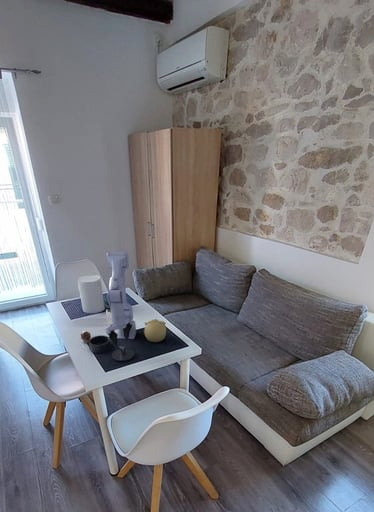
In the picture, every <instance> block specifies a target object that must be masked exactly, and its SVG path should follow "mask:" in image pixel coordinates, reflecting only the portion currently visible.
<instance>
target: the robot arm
mask: <svg viewBox="0 0 374 512" xmlns="http://www.w3.org/2000/svg"><path fill="white" fill-rule="evenodd" d="M106 262H107V265H108V267H109V269H110V270H111V271H112V272H111V275H112V276H110V278H109V289H108V290H107V295H106V296H107V301H108V306H109V308H110V315H111V323H112V324H110V325H109V326H108V327H107V328H105V333H106V335H107V336H108V337H109V338H110V341H111V344H112V345H114V346H117V345H118V339H119V340H120V339H121V340H126V339H127V340H135V338H136V335H137V325H136V324H137V323H136V320H134V312H133V306H132V305H131V304H130V303H129V302H128V301H127V292H126V290H127V289H126V276H125V273H126V271H127V270H129V268H130V263H129V253H128V252H127V251H124V252H123V251H119V252H117V251H116V252H115V251H113V252H111V251H108V252H107V253H106ZM116 331H117V332H116Z"/></svg>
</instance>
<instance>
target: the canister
mask: <svg viewBox="0 0 374 512" xmlns="http://www.w3.org/2000/svg"><path fill="white" fill-rule="evenodd" d="M76 280H77V286H78V291H79V296H80V302H81V308H82V312H84V313H86V314H98V313H101V312H103V311H104V310H105V309H106V308H105V300H104V293H103V285H102V279H101V276H100V275H97V274H85V275H81V276H79V277H77V279H76Z"/></svg>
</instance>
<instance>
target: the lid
mask: <svg viewBox="0 0 374 512" xmlns="http://www.w3.org/2000/svg"><path fill="white" fill-rule="evenodd" d="M134 357H135V351H134V350H133V349H130V348H126V346H124V345H121V346H119V349H116V350H114V351H113V352H112V353H111V358H112V359H113V360H114V361H117V362H127V361H131V360H132V359H134Z"/></svg>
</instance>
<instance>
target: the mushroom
mask: <svg viewBox="0 0 374 512" xmlns="http://www.w3.org/2000/svg"><path fill="white" fill-rule="evenodd" d="M91 338H92V335H91V333H90V332H89V331H87V330H85V331H82V333H81V334H80V339H81V341H82V342H83V344H89V340H90V339H91Z"/></svg>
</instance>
